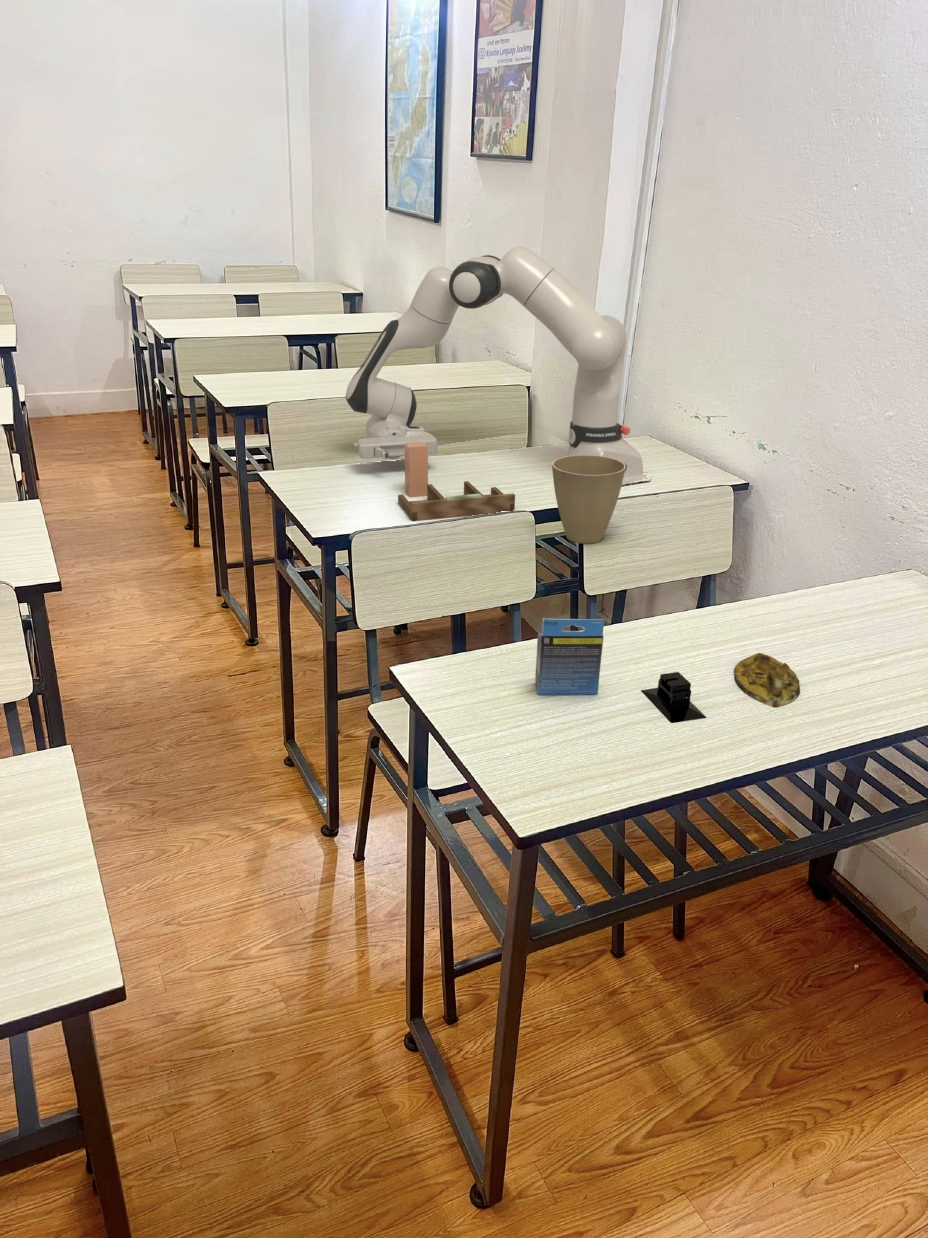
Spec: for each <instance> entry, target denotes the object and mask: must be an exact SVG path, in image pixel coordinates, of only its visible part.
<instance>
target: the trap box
mask: <svg viewBox="0 0 928 1238" xmlns="http://www.w3.org/2000/svg"><path fill="white" fill-rule="evenodd" d="M397 504H398V505H399V506H400V508H401V509H402V510H403V512H404V513H405V514H406V516H407V517H408V518H409V519H410V520H411V522H417V521H429V520H439V519H451V518H460V517H461V518H462V516H463V517H473V516H472V515H474V516H480V515H479V514H485V515H489V514H488V513H496V512H501V511H513V510H515V509H516V508H515V507H516V506H515V505H516V494H515V493H514V492H513V493H503V492H502V491H501V490H500V489H499V488H498V487H496V486H492V487H490V494H482V492H481V491H480V490H478V489H477V488H476V487H475V485H473V484H472V483H470V482H469V480H467V481H463V494H461V495H460V494H459V495H449V496H448V495H446V496H445V497H444V496H443V494H441V493H440V492H439V490H437V488H436V487H435V486H434V485H433V484H432V483H428V484H427V496H426V499H422V500H421V499H419V500H412V501H411V500H410V501H409V500H408V499H407V497H405V495H404V494H397Z"/></svg>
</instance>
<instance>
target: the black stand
mask: <svg viewBox="0 0 928 1238" xmlns="http://www.w3.org/2000/svg"><path fill="white" fill-rule="evenodd" d="M657 683H658V684H657V687H653V688H647V689H641V690H640V692H641V693H642V694H643V695H644V696H645V697H646V698H647V699H648V701H650V703H652V705H653V706H654V707H655V708H656V709H657V710H658V711H659V712H660V714H662V715H663V716H664V717H665V718H666V720H667V721H668V722H669V723H670V724H677V723H683V722H689V721H695V720H703V719H707V715H705V714H704V713H703V712H702V711H701V710H700V709H699V708H698V707H697V706H696V705H694V703H693V702H692V701H691V695H692V690H691V686H692V683H691V682H690V681H689V680H688V679H687V678H686V677H684V676H683V675H682V674H681V673H680V672H679V671H673V672H670V673H661V674H660V676H659V678H658V682H657Z"/></svg>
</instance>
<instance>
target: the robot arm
mask: <svg viewBox="0 0 928 1238" xmlns="http://www.w3.org/2000/svg"><path fill="white" fill-rule="evenodd" d="M504 294H506V295H509V296H510V297H512V298H513V299H514V300H516V301H517V303H519V304H520V305H522V307H524V308H525V309H526V310H527V311H528V312H530V314H531V315H532V316H533V317H535V318H536V319H537V320H538V321H539V322H540V323H542V325H544V326H545V327H546V328H547V330H549V331H550V332H551V333H552V334H553V336H554V337H555V338H556V339H557V340H558V342H559V343H560V344H561V345H562V346H563V347H564V349H565V350H567V352H569V354H570V356H572V357H573V358H574V359H575V360H576V362H577V364H578V366H577V373H576V377H575V385H574V387H573V388H574V389H573V401H572V413H571V414H572V415H571V421H570V423H569V432H568V444H569V447H568V453H567V456H572V455H597V456H605V457H610V458H614V459H617V460H619V461H621V462H623V463H624V464H625V465H626V468H625V473H624V477H623V481H622V485H623V484H625V483H630V482H634V481H638V480H642V479H648V478H644V477H647V476H646V475H643V473H645V472H643V470H644V467H643V458H642V456H641V454H640V452H639V451H638V450H637V449H635V448H634V447H633V446H632V445H631V444H630V443H629V442H628V441H626V440H625V439H624V438H623V435H624V436H628V435H629V434H630V433H631V428H630V427H629V426H626V425H621V424H620V423H618V411H619V399H620V392H621V391H620V390H621V383H622V377H623V369H624V362H625V353H626V346H627V345H626V344H627V331H626V329H625V326H624V325H623V323H622V322H621V321H620V320H619V319H618V318H617V317H615V316H611V315H604V314H603V315H601V314H600V313H599V312H598V311H597V309H595V308H594V306H592V304H591V303H590V302H589V301H588V300H587V299H586V298H585V297H584V295H583V294H582V293H581V291H580V290H579V289H578V288H577V287H575V285H573V284H572V283H571V282H570V281H569V280H568V279H567V278H565V276H563V275H562V274H561V273H560V272H559V271H558V270H557V269H556V268H555V267H553V265H551V264H550V263H548V262H547V261H546V260H545V259H543V258H542V257H540V256H538V254H536V253H534V252H533V251H531V250H529V248H525V247H523V246H516V247H513V248H511V249H510V250H509V251H507V252H506V253H505V254H504V256H503V257H502V258H499V257H497V256H495V255H490V254H489V255H488V254H485V255H481V256H476V257H472V258H470V259H467V260H466V261H463V262H462V263H459V264H458V265H457V266H456V267H455V268H454V269H453V270H452V269H449V268H447V267H442V266H436V267H433V268H431V269H429V271H427V273H426V274H425V276H424V277H423V279H422V280H421V282H420V284H419V285H418V287H417V289H416V292H415V293H414V296H413V297H412V300H411V302H410V305H409V307H408V309H407V310H406V311H405V312H404V313H403V314H402V315H401V316H400V317H398V318H396V319H392V320H391V321H389V323H387V324H386V326H385V327H384V329H383V330H382V331H381V333H380V334H379V336H378V338H377V339H376V341H375V342H374V344H373V346H372V347H371V350H370V351H369V353H368V354H367V356H366V357H365V359H364V360H363V362H362V364H361V366H360V367H359V369H358V370H357V371H356V372H355V374H354V375H353V376H352V378H351V379H350V381H349V383H348V385H347V386H346V387H347V388H346V392H345V400H346V402H347V404H348V406H349V407H350V408H351V409H352V411H353V412H356V413H359V414H360V413H361V414H367V415H371V416H370V417H369V419H368V420H367V421H366V424H365V434H366V436H367V437H364V438H360V439H358V441H357V442H354V443H353V446H354V448H355V449H357V450H358V456H359V457H360V458H361V459H379V458H381V459H382V460H387V459H389V460H395V459H396V460H397V459H399V458H401V457H405V449H404V443H409V442H424V443H425V444H426V445H427V446H428V455H435V454H437V452H438V439H437V438H436V437H435V436H434V435H433V434H432V433H429V432H427V431H425V428H424V427H423V426H412V422H414V419H415V415H416V412H417V407H418V406H417V399H416V396H415V393H414V391H413V389H412V388H411V387H408V386H406V385H403V384H400V383H396V382H392V381H389V380H386V379H382V378H380V377H377V376H378V375H379V373H380V372H381V370H382V368H383V367H384V365H385V364H386V362H387V360H388V359H389V358H390V356H391V355H392V354H394V353H395V352H397V351H398V352H399V351H401V350H409V349H426V348H431V347H433V346H435V345H438V344H439V343H440V342H441V341H442V340H443V339H444V338H445V336H446V335H447V333H448V332H449V329H450V327H451V324H452V322H453V320H454V317H455V315H456V313H457V310H458V309H459V307H462V308H464V309H471V310H474V309H479V308H482V307H483V306H487V305H490V304H492V303H493V302H495V301H497V300H498V299H500V298H501V297H502V296H503V295H504ZM622 434H623V435H622Z"/></svg>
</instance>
